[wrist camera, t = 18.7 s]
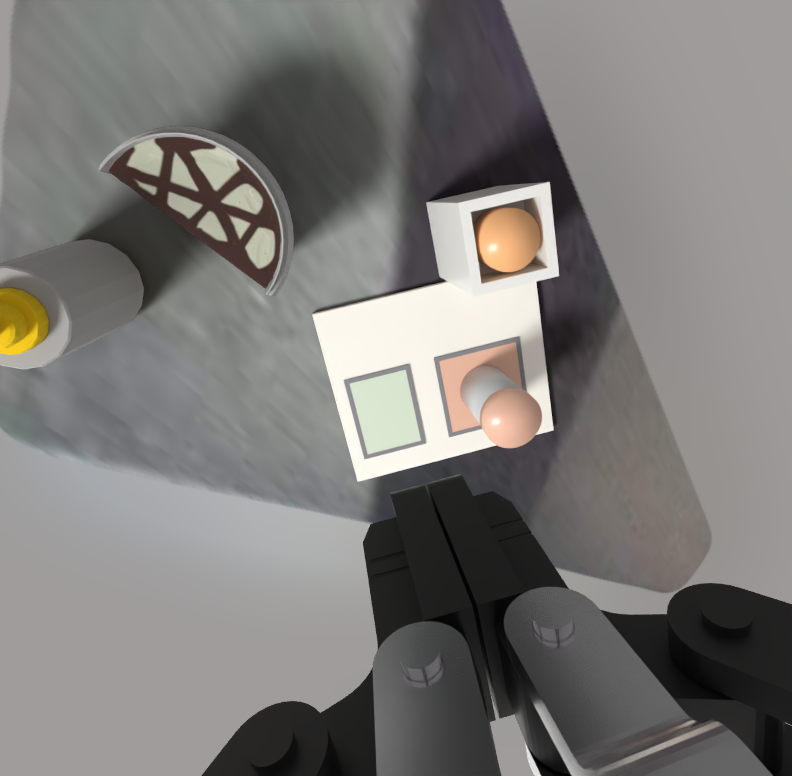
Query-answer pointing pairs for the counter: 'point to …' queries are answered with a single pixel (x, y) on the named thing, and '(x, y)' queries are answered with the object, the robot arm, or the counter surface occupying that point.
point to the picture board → (426, 369)
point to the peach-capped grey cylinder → (500, 406)
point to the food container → (212, 196)
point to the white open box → (458, 241)
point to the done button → (506, 239)
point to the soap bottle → (64, 301)
